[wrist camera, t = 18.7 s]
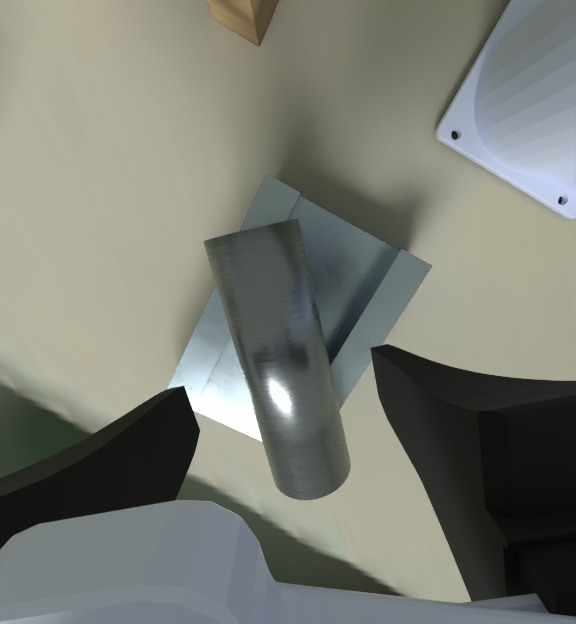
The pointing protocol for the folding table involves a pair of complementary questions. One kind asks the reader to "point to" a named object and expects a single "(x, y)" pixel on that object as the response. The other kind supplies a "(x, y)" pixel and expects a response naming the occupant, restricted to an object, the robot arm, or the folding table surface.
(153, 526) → the robot arm
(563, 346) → the folding table surface
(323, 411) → the axle
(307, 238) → the cradle
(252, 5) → the beam
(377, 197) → the folding table surface
